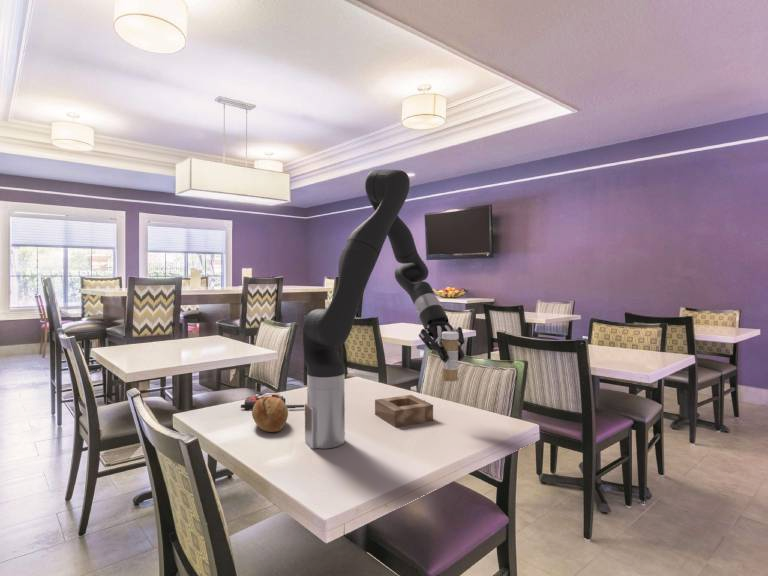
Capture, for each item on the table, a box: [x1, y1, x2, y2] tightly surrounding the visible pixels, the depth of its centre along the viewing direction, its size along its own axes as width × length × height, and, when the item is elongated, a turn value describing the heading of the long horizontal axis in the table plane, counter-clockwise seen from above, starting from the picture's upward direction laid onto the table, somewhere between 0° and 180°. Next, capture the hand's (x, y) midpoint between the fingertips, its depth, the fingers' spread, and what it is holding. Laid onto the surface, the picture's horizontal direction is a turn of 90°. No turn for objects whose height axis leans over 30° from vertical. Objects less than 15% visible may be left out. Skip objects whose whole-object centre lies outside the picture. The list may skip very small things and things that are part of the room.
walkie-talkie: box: [240, 392, 305, 410], centre depth 142 cm, size 9×4×20 cm
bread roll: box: [251, 397, 289, 433], centre depth 123 cm, size 10×15×8 cm, turn 21°
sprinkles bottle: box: [441, 331, 459, 383], centre depth 122 cm, size 5×5×14 cm
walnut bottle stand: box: [374, 394, 434, 428], centre depth 131 cm, size 13×13×4 cm
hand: (454, 359), depth 121 cm, fingers closed on sprinkles bottle, 4 cm apart
